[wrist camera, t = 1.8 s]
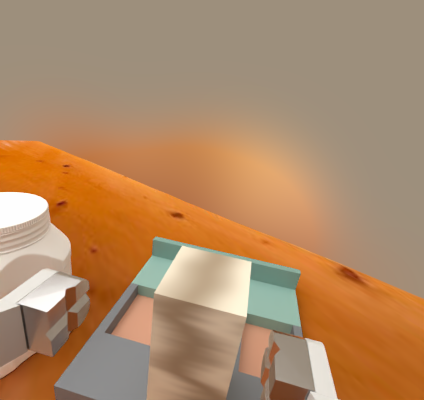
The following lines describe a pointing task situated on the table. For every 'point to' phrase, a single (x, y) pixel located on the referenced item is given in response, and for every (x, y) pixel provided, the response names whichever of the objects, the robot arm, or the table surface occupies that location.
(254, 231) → the table surface
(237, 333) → the maple block
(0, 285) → the jar
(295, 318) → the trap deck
